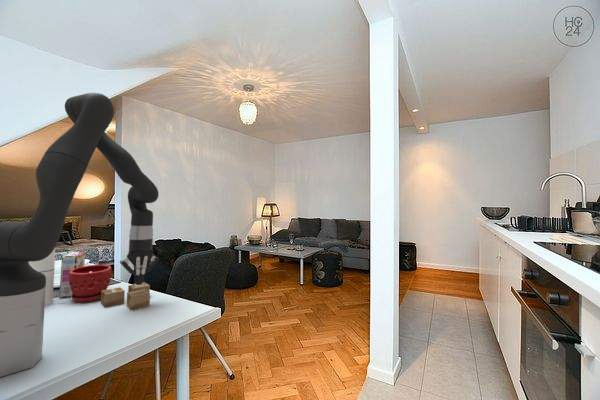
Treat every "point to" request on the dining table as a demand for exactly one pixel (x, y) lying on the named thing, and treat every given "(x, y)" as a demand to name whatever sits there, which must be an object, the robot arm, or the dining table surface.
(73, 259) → the candy bar box
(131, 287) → the cube with circle marking
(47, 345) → the dining table surface
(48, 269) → the cylindrical container
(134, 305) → the plain walnut block
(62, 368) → the dining table surface
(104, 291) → the marked walnut block bar
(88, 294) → the plant pot
